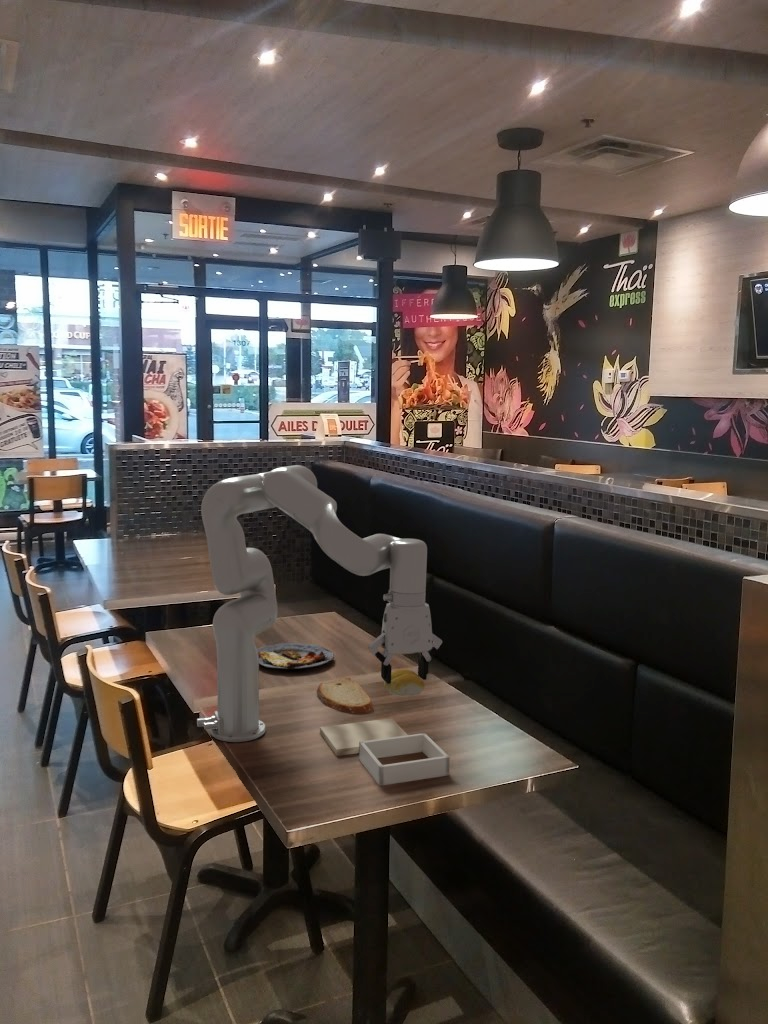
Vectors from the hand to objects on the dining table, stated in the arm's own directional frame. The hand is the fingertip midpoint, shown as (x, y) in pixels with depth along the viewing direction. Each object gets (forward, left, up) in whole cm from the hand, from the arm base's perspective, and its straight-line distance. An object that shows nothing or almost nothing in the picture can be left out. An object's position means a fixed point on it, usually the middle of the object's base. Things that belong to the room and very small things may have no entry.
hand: (404, 679), depth 175 cm
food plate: (-5, +76, -20) cm, 79 cm away
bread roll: (0, 0, -3) cm, 3 cm away
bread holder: (0, 0, -20) cm, 20 cm away
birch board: (-3, +16, -20) cm, 25 cm away
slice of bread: (+1, +42, -20) cm, 46 cm away
